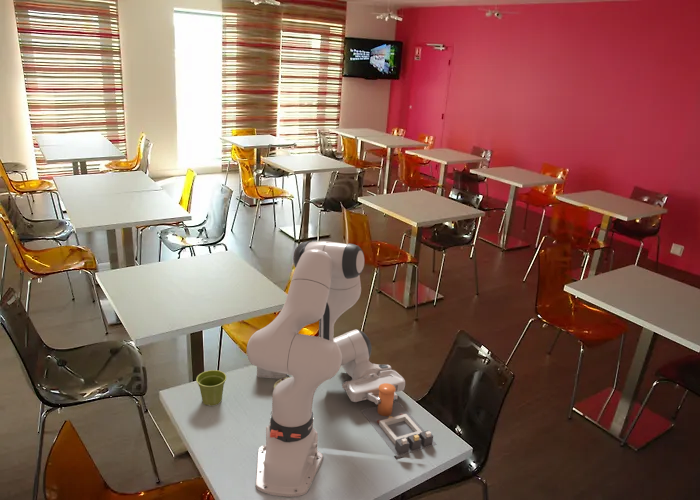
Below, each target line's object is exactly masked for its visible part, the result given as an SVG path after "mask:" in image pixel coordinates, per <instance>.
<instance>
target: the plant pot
mask: <svg viewBox="0 0 700 500" xmlns="http://www.w3.org/2000/svg"><path fill="white" fill-rule="evenodd" d="M226 380H227V375H226V373H225V372H223V371H221V370H216V369H211V370H205V371H202V372H201V373H199V374H198V375H197V376H196V379H195V381H196V384H197V385H198V387H199V389H200V396H201V400H202V403H203V404H204V405H205V406H212V407H213V406H217V405H219V404H221V401H222V400H223V393H224V392H223V391H224V386H225V382H226Z"/></svg>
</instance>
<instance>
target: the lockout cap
mask: <svg viewBox="0 0 700 500" xmlns="http://www.w3.org/2000/svg"><path fill="white" fill-rule="evenodd" d="M395 390H396V388H395V387H394V386H393V385H391V384H388V383H384V384H381V385H380V386H379V396H378V397H379V398H380V399H381V403H380V404H377V406H378V409H377V412H378V414H380V415H381V416H390V415H391V414H392V408H393V402H394V400H393V399H394V392H395ZM395 393H396V392H395Z"/></svg>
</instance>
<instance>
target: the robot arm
mask: <svg viewBox="0 0 700 500" xmlns="http://www.w3.org/2000/svg"><path fill="white" fill-rule="evenodd" d="M292 259H293V266H294V272H293V274H292V277H291V281H290V285H289V288H288V292H287V295H286V299H285V301H284V304H283V307H282V309H281V310H280V312H279V313H278V314H277V316H276V317H275V318H274V319H273V320H272V321H271V322H270V323H269V324H267V325H266V326H264V327H262V328H260V329H257V330H256V331H255V332H254V333H252V335H251V336H250V338H249V340H248V342H247V346H246V357H247V360H248V362H249V363H250V364H251V365H252V366H254V367H256V368H257V367H259V368H262V369H264V370H267V371H273V372H278V373H284V374H287V375H289V377H290V378H287V379H285V380H283V381H281V382H280V383H278V384H277V385H276V387H275V388H274V387H273V390H272V393H271V394H272V400H271V401H272V402H271V412H270V416H269V424H268V425H267V426H266V427H265V431H266V432H265V433H266V434H265V444H263V445H261V446H260V447H258V450H257V460H256V462H257V463H256V473H255V474H256V476H255V488H256V489H257V490H258V491H260V492H261V493H263V494H267V495H271V496H277V497H287V498H288V497H299V496H303V495H306V494H307V493H308V491H309V490H310V487H311V485H312V483H313V481H314V479H315V477H316V474H317V473H318V470H319V468H320V467H321V464H322V462H323V460H324V454H323V453H322V452H321V451H320V450H318V446H319V445H318V440H319V439H318V438H319V435H318V431H317V430H316V429H315V427H314V413H313V401H314V395H315V392H316V391H317V389H318V388H319V387H320V386H321V384H323V383H324V382H326V381H328V380H331V379H333V378H334V377H335V376H336V374H337V373H339V370H340V368H343V370H344V372H346V374H347V375H348V376H349V377H351V380H346V381H344V382H343V383H342V385H341V387H342V389H343V390H345V392H346V395H347V396H348V398H349V400H350V401H351V402H353V403H357V402H358V403H359V402H361V401H362V402H363V401H366V400H368V401H370V402H373V403H374V404H375V405H376V406H378V404H380V403H381V399H380V398H379V386H380V385H381V384H384V383H388V384H391V385H393V386H394V387H395V388H396V390H395V392H394V399H393V401H398V394H397V393H398V392H403V391H404V390H405V386H406V380H405V378H404V377H403V376H402V375H401V374H399V372H397V371H396V370H395V369H392V366H391V365H389V364H377V363H372V362H371V361H370V358H371V355H372V343H371V340H370V338H369V336H367V333H365V332H363V331H362V330H360V329H359V328H355V329H353V330H350V331H347V332H345V333H343V334H341V335H338V336H336V337H334V336H335V335H334V328H335V323H336V321H337V320H338V319H339V318H340V316H342V314H344V313H345V312H346V311H348V310H349V309H350V308H352V307H353V306H354V305H356V303H357V302H358V300H359V299H360V297H361V292H362V284H361V283H362V282H361V277H360V276H361V274H362V273H363V272H364V271H363V270H364V267H365V254H364V251H363V249H362V248H361V247H360V246H359V245H358V244H357V245H356V244H354V243H350V242H349V243H344V242H336V241H335V242H334V241H330V240H329V241H327V240H321V241H320V240H319V241H311V240H308V241H303V242H300V243H299V244H298V245H297V246H296V247H295V250H294V252H293V258H292ZM317 322H318V336H315V335H309V334H302V333H299V332H300V331H301V330H302V329H303V328H304V327H306V326H309V325H311V324H315V323H317Z"/></svg>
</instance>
